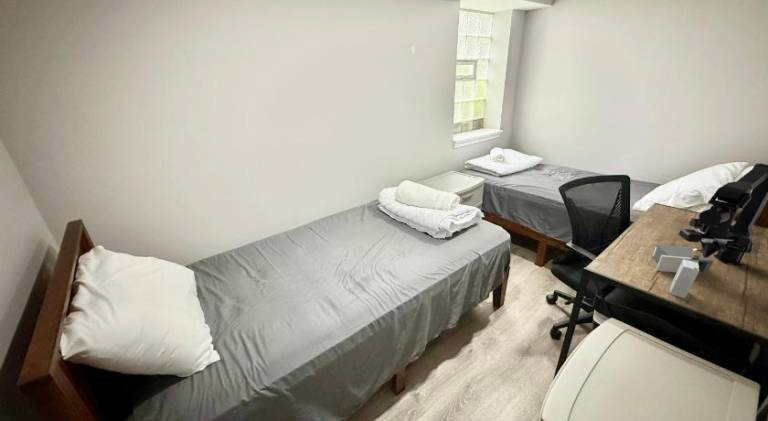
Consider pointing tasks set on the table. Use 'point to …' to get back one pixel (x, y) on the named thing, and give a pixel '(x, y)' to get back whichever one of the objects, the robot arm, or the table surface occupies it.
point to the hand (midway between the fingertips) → (704, 257)
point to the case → (682, 252)
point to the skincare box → (684, 278)
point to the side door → (676, 261)
